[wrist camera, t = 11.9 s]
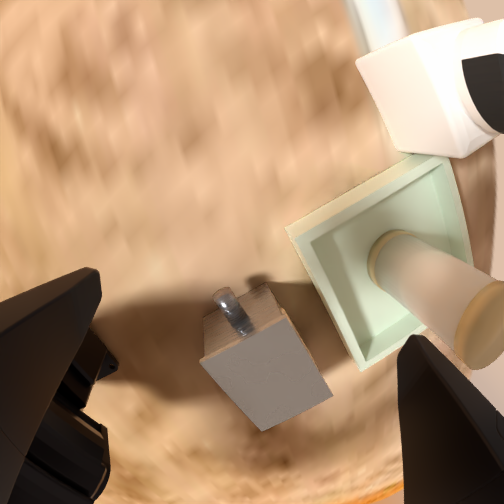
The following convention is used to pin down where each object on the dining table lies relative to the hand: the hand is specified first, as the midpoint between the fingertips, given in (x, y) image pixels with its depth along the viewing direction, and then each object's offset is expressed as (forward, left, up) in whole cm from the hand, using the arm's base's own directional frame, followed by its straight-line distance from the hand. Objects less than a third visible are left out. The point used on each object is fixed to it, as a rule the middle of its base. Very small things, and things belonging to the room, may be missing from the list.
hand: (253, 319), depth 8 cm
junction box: (-2, -9, -13) cm, 16 cm away
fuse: (+9, -9, -12) cm, 18 cm away
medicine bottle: (+16, +2, -13) cm, 21 cm away
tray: (+9, -9, -13) cm, 18 cm away
